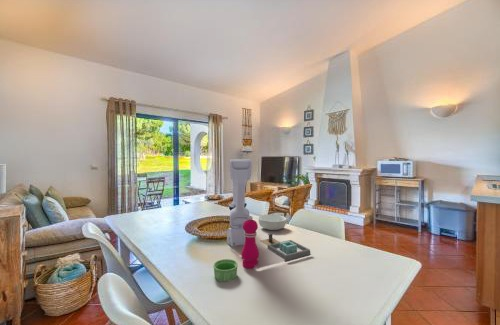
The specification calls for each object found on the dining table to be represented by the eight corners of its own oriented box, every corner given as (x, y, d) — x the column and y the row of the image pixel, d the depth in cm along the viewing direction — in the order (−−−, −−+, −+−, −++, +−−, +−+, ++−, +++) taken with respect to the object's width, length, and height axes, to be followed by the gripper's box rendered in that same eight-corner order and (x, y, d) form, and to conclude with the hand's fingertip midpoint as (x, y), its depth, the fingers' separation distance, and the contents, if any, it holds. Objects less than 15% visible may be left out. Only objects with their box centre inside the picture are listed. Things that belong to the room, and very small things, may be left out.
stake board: (268, 248, 111) (268, 237, 111) (259, 242, 118) (259, 232, 118) (281, 244, 115) (281, 235, 115) (272, 239, 122) (272, 230, 122)
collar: (288, 255, 101) (288, 247, 101) (279, 250, 107) (279, 242, 106) (298, 253, 104) (298, 245, 103) (289, 248, 109) (289, 240, 109)
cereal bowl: (288, 234, 131) (288, 221, 131) (258, 233, 131) (258, 221, 131) (284, 225, 148) (284, 214, 148) (258, 224, 148) (258, 214, 148)
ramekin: (215, 284, 80) (215, 271, 79) (211, 271, 88) (211, 260, 88) (240, 280, 82) (240, 268, 82) (234, 268, 91) (234, 257, 91)
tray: (285, 262, 96) (285, 255, 96) (267, 250, 108) (267, 244, 108) (310, 255, 103) (310, 249, 103) (290, 245, 115) (290, 239, 115)
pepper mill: (261, 262, 96) (261, 214, 95) (256, 270, 89) (256, 219, 88) (244, 259, 98) (245, 213, 98) (238, 267, 91) (238, 217, 91)
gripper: (238, 196, 122) (238, 221, 122) (249, 192, 135) (249, 215, 136) (226, 195, 125) (226, 220, 125) (239, 191, 138) (239, 214, 138)
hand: (238, 217), depth 131 cm, fingers open, 7 cm apart
